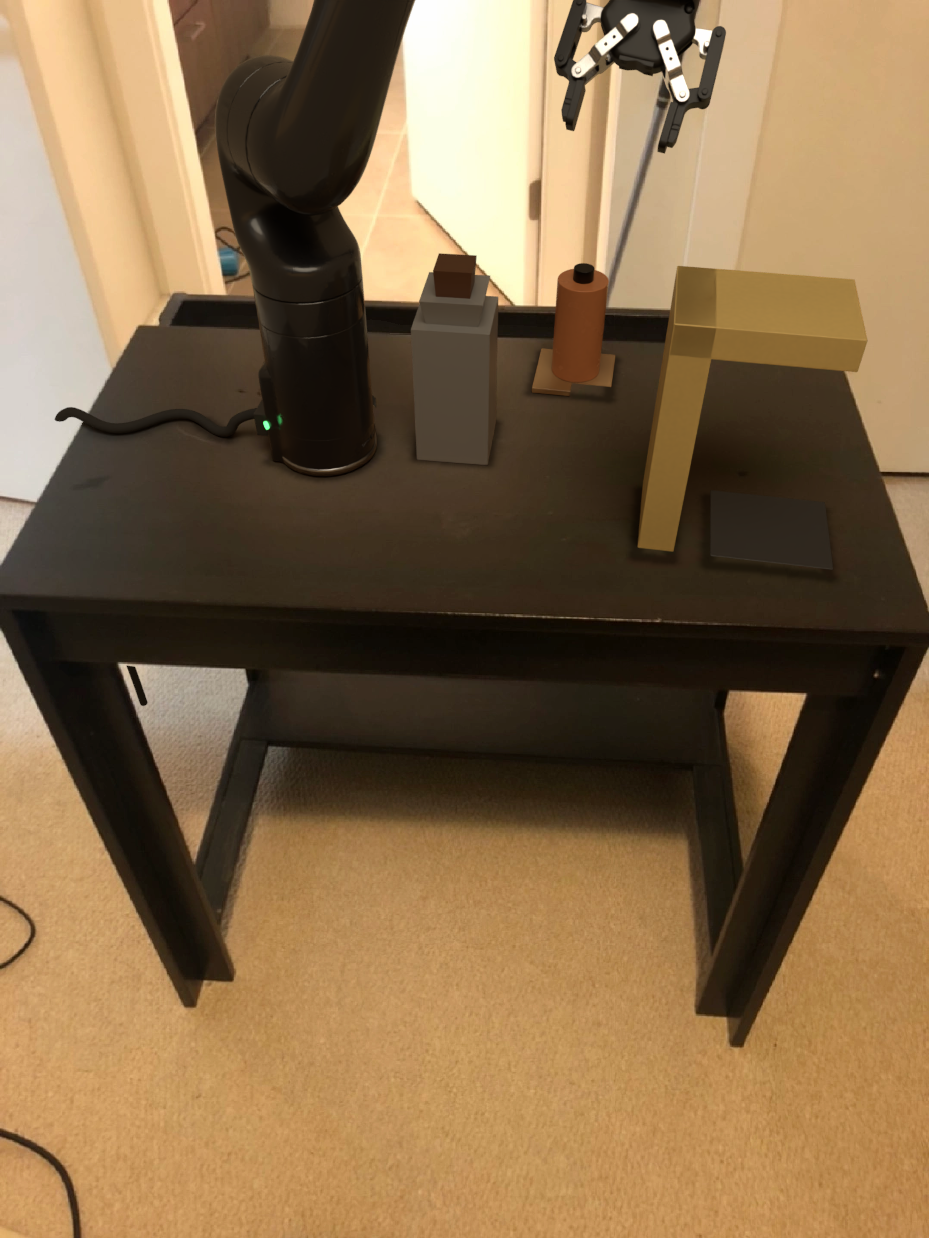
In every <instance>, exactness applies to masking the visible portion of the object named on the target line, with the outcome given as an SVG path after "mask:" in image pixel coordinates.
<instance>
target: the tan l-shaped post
mask: <svg viewBox="0 0 929 1238" xmlns="http://www.w3.org/2000/svg"><path fill="white" fill-rule="evenodd" d="M675 271H676V272H675V278H674V284H673V290H672V296H671V303H670V309H669V315H668V320H667V321H668V322H667V329H666V335H665V340H664V347H663V353H662V358H661V359H662V360H661V367H660V373H659V378H658V379H659V380H658V385H657V391H656V396H655V397H656V398H655V404H654V409H653V410H654V411H653V418H652V423H651V428H650V430H651V431H650V436H649V441H648V449H647V456H646V460H645V466H644V467H645V468H644V473H643V474H644V475H643V481H642V489H641V502H640V513H639V524H638V525H639V526H638V538H637V548H639V549H646V550H654V551H655V550H656V551H664V552H674V551H675V546H676V540H677V536H678V532H679V531H678V530H679V527H680V525H679V524H680V520H681V516H682V510H683V505H684V501H685V500H684V499H685V495H686V490H687V484H688V480H689V475H690V470H691V466H692V465H691V464H692V459H693V454H694V450H695V445H696V438H697V435H698V429H699V424H700V419H701V414H702V409H703V403H704V398H705V392H706V389H707V384H708V378H709V373H710V368H711V363H712V361H713V360H714V361H726V362H737V363H748V364H759V365H760V364H761V365H771V366H781V367H794V368H804V369H805V368H806V369H814V370H815V369H817V370H826V371H838V372H849V373H858V372H859V369H860V367H861V363H862V359H863V356H864V354H865V350H866V347H867V344H868V336H867V330H866V326H865V321H864V317H863V313H862V307H861V304H860V297H859V294H858V289H857V285H856V280H855V279H853V278H840V277H829V276H828V277H827V276H815V275H804V274H803V275H802V274H791V273H790V274H788V273H777V272H766V271H765V272H763V271H752V270H751V271H750V270H736V269H725V268H724V269H723V268H711V267H701V266H685V265H677V266H676V270H675ZM709 493H710V495H709V496H710V498H709V499H710V503H709V504H710V505H709V506H710V509H709V512H710V513H709V531H710V532H709V556H711V557H719V558H727V559H736V560H745V561H753V562H761V563H770V564H777V565H778V564H780V565H788V566H789V565H790V566H797V567H805V568H814V569H824V570H831V571H832V570H834V563H833V557H832V549H831V548H832V547H831V540H830V532H829V524H828V516H827V515H828V514H827V509H826V501H819V500H810V499H809V500H808V499H799V498H791V497H790V498H789V497H782V496H781V497H780V496H770V495H762V494H751V493H743V492H734V491H723V490H715V489H711V490H710V492H709Z"/></svg>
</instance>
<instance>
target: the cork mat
mask: <svg viewBox="0 0 929 1238" xmlns="http://www.w3.org/2000/svg"><path fill="white" fill-rule="evenodd" d="M552 353H553V348H541V349H540V352H539V357H538V362H537V364H536V368H535V369H536V370H535V374H534V376H533V377H534V378H533V381H532V386H531V393H532V394H543V395H554V396H562V397H563V396H565V397H571V391H572V386H573V384H576V385H587V386H597V387H607V388H612V384H613V377H614V372H615V371H614V370H615V362H616V354H610V353H601V359H600V369H599V373H598V375H597V376H596V377H595V378H593V379H592V380H589V381H585V382H569V381H565V380H562V379H560V378H558V377H556V376H555V375H554V374H553V372H552V369H551V368H552Z"/></svg>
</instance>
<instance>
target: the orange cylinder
mask: <svg viewBox="0 0 929 1238" xmlns="http://www.w3.org/2000/svg"><path fill="white" fill-rule="evenodd" d="M556 281H557V282H556V294H555V295H556V296H555V311H554V324H553V340H552V349H553V353H552V368H551V369H552V372H553V374H554V375H555V376H556V377H558V378H560V379H562V380H565V381H569V382H585V381H589V380H592V379H593V378H595V377H596V376H597V375H598V373H599V369H600V359H601V354H602V348H603V340H604V331H605V322H606V320H605V319H606V314H607V313H606V311H607V303H608V293H609V283H610V280H609V278H608V276H607V275H606V274H605V273H603V272H602V271H600V270H597V269H595V266H594V265H593V264H591V263H586V262H581V263H577V264H575V265H574V266H573V268H570V269H567V270H564V271H561V273H560V274H559V275H558V276H557V280H556Z"/></svg>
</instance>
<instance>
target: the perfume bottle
mask: <svg viewBox="0 0 929 1238" xmlns="http://www.w3.org/2000/svg"><path fill="white" fill-rule="evenodd" d="M476 268H477V255H476V254H475V255H474V254H456V253H442V252H441V253H439V252H438V255H437V257H436V261H435V264H434V267H433V270H432V271H428V275H427V277H426V280H425V282H424V286H423V289H422V292H421V294H420V296H419V300H418V308H417V309H416V313H415V315H414V319H413V322H412V325H411V327H410V341H411V344H410V345H411V362H412V364H411V365H412V385H413V405H414V406H413V407H414V427H415V429H414V430H415V442H416V443H415V448H416V449H415V450H416V460H417V461H431V462H441V463H442V462H444V463H453V464H454V463H457V464H467V465H468V464H470V465H481V466H488V465H489V460H490V455H491V451H492V445H493V441H494V440H493V439H494V435H495V430H496V426H497V386H498V385H497V384H498V381H497V380H498V379H497V378H498V339H499V338H498V336H499V335H498V334H499V330H498V328H499V296H494V295H487V292H488V289H489V285H490V284H489V283H490V279H491V275H486V274H476V270H477V269H476Z"/></svg>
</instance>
